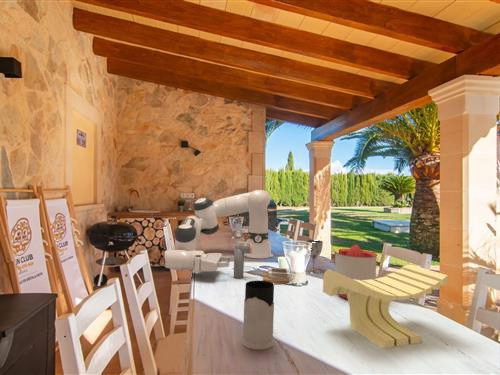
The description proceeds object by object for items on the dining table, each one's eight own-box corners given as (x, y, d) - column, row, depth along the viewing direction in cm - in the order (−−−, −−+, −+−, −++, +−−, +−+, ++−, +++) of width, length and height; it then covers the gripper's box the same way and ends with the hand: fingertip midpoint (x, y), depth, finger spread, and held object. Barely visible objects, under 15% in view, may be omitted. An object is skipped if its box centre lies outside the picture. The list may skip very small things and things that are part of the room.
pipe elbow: (233, 278, 146) (234, 243, 146) (233, 275, 151) (235, 242, 151) (250, 279, 146) (252, 244, 146) (251, 276, 150) (252, 242, 150)
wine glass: (323, 273, 160) (324, 242, 160) (306, 273, 160) (307, 242, 160) (319, 269, 168) (321, 240, 168) (304, 269, 168) (305, 239, 168)
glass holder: (236, 345, 84) (238, 286, 84) (252, 324, 98) (254, 273, 98) (269, 352, 82) (272, 291, 82) (281, 329, 95) (283, 277, 95)
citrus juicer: (335, 287, 139) (336, 239, 139) (379, 295, 130) (381, 244, 130) (323, 296, 125) (325, 244, 125) (371, 306, 117) (373, 250, 117)
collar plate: (262, 274, 154) (263, 266, 154) (293, 276, 153) (293, 267, 153) (263, 283, 140) (263, 274, 140) (296, 285, 139) (296, 275, 139)
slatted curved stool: (402, 317, 108) (404, 262, 108) (445, 338, 93) (447, 275, 93) (321, 326, 98) (323, 266, 98) (355, 352, 83) (357, 281, 83)
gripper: (203, 262, 159) (231, 263, 158) (194, 273, 138) (227, 275, 138) (203, 249, 159) (232, 250, 158) (195, 258, 138) (228, 260, 138)
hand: (230, 262), depth 148 cm, fingers open, 8 cm apart
